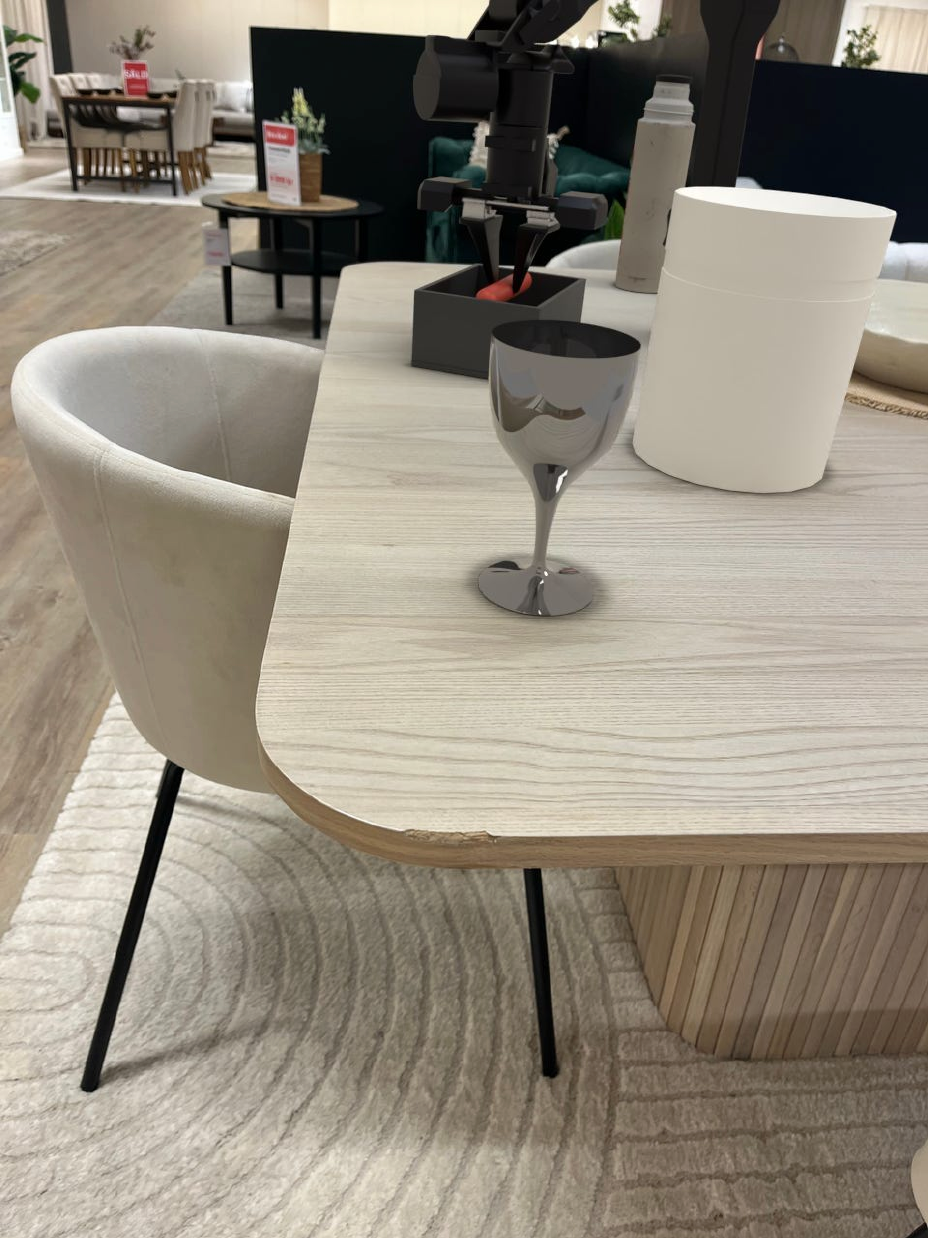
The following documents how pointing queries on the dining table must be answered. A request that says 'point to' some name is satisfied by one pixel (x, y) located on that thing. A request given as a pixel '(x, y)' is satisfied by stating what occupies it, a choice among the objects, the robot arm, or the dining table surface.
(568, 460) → the wine glass
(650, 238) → the thermos bottle
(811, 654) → the dining table surface
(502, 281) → the sausage
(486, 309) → the bin
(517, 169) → the robot arm
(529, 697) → the dining table surface
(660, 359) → the canister
